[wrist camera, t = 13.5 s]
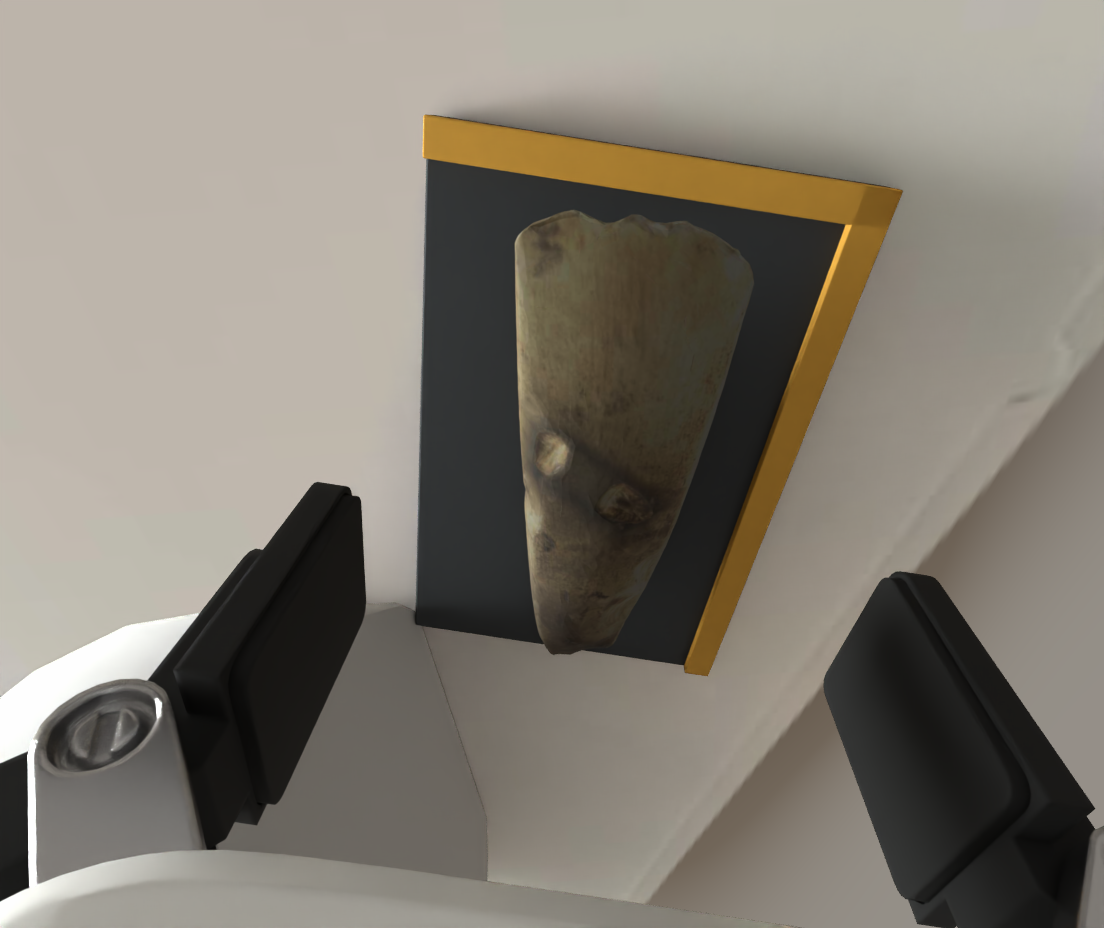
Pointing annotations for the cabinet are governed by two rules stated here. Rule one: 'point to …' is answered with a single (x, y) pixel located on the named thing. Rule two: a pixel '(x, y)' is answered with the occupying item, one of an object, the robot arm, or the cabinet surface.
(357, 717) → the alarm clock
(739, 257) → the stone
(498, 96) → the cabinet surface
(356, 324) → the cabinet surface
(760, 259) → the corner mat
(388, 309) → the cabinet surface
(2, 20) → the cabinet surface
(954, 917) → the robot arm
